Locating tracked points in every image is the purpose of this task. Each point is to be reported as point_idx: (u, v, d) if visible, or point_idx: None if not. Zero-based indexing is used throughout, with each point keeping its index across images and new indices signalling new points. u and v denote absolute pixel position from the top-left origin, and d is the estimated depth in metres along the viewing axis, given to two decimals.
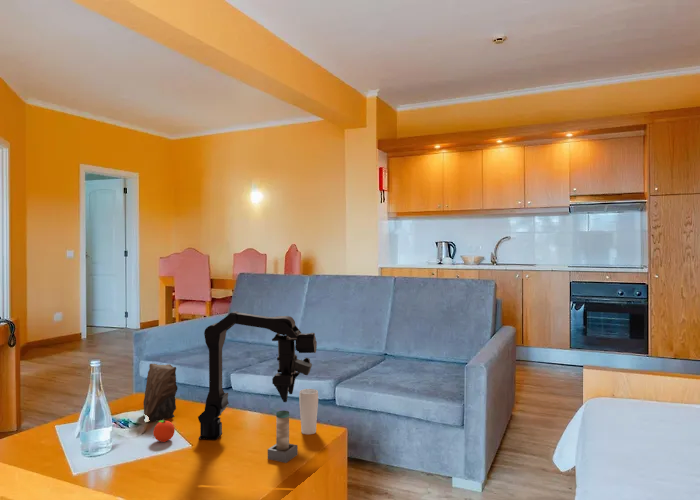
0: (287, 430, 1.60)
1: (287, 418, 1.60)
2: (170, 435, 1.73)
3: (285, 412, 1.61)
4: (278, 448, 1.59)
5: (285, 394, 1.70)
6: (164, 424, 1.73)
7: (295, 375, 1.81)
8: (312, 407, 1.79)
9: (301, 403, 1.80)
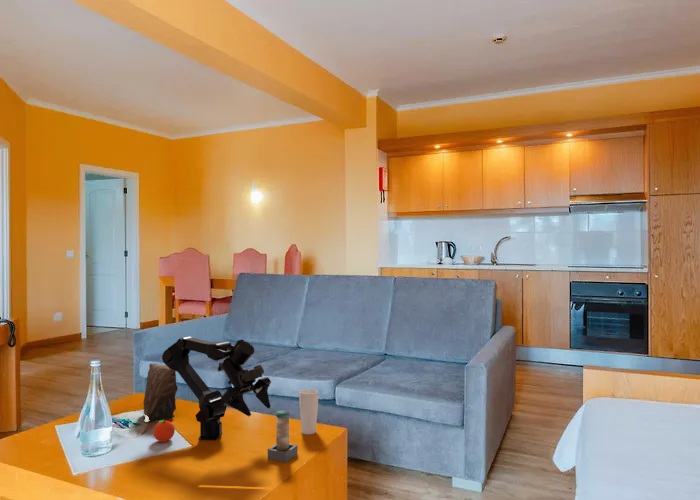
0: (287, 430, 1.60)
1: (287, 418, 1.60)
2: (170, 435, 1.73)
3: (285, 412, 1.61)
4: (278, 448, 1.59)
5: (243, 408, 1.62)
6: (164, 424, 1.73)
7: (263, 388, 1.72)
8: (312, 407, 1.79)
9: (301, 403, 1.80)
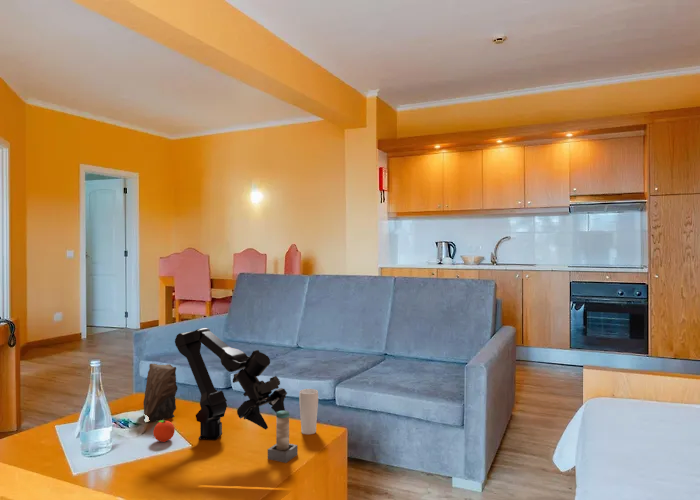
0: (287, 430, 1.60)
1: (287, 418, 1.59)
2: (170, 435, 1.73)
3: (285, 412, 1.61)
4: (278, 448, 1.59)
5: (260, 421, 1.58)
6: (164, 424, 1.73)
7: (279, 400, 1.68)
8: (312, 407, 1.79)
9: (301, 403, 1.80)
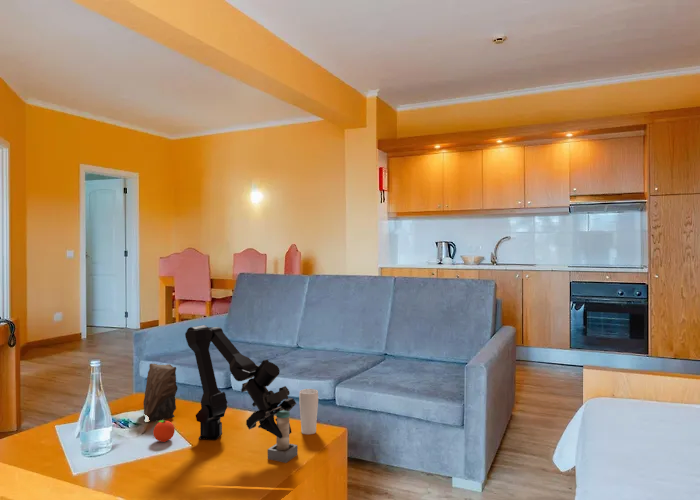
0: (287, 430, 1.60)
1: (287, 418, 1.60)
2: (170, 435, 1.73)
3: (285, 412, 1.61)
4: (278, 448, 1.59)
5: (275, 429, 1.58)
6: (164, 424, 1.73)
7: None
8: (312, 407, 1.79)
9: (301, 403, 1.80)
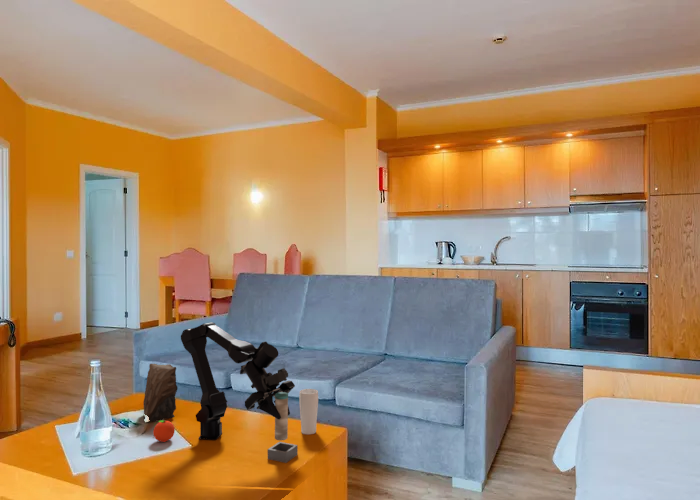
0: (286, 411, 1.60)
1: (286, 399, 1.60)
2: (170, 435, 1.73)
3: (284, 394, 1.61)
4: (277, 429, 1.59)
5: (273, 411, 1.58)
6: (164, 424, 1.73)
7: None
8: (312, 407, 1.79)
9: (301, 403, 1.80)
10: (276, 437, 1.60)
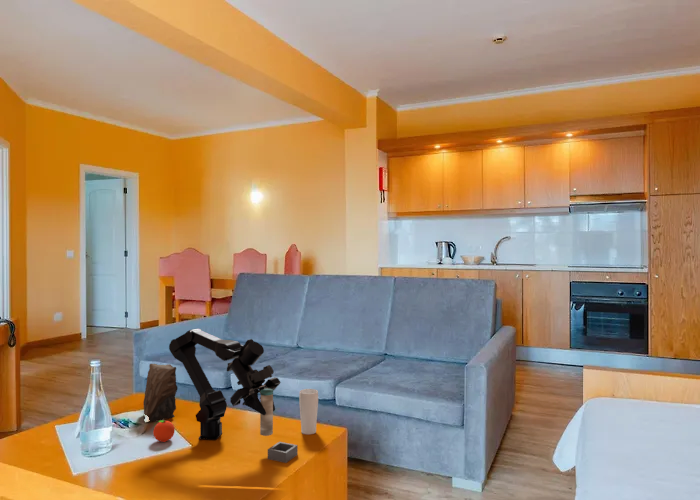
0: (271, 407, 1.63)
1: (271, 396, 1.63)
2: (170, 435, 1.73)
3: (269, 390, 1.64)
4: (262, 425, 1.63)
5: (258, 407, 1.62)
6: (164, 424, 1.73)
7: None
8: (312, 407, 1.79)
9: (301, 403, 1.80)
10: (261, 432, 1.63)
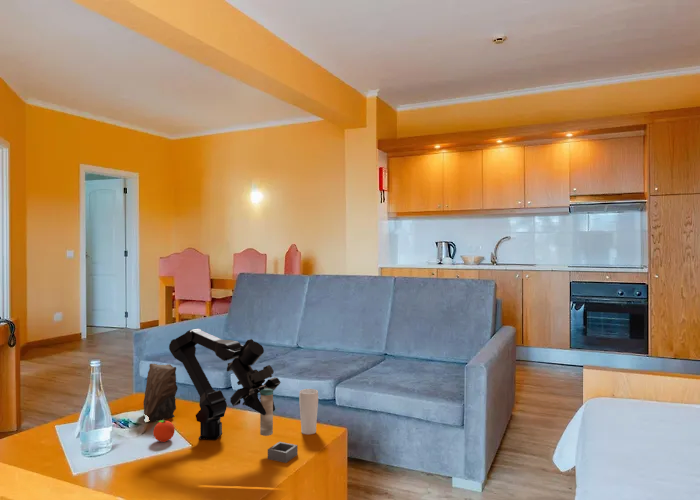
0: (271, 407, 1.63)
1: (271, 396, 1.63)
2: (170, 435, 1.73)
3: (269, 390, 1.64)
4: (262, 425, 1.63)
5: (258, 407, 1.62)
6: (164, 424, 1.73)
7: None
8: (312, 407, 1.79)
9: (301, 403, 1.80)
10: (261, 432, 1.63)
